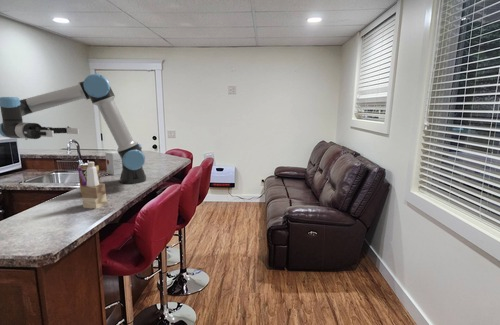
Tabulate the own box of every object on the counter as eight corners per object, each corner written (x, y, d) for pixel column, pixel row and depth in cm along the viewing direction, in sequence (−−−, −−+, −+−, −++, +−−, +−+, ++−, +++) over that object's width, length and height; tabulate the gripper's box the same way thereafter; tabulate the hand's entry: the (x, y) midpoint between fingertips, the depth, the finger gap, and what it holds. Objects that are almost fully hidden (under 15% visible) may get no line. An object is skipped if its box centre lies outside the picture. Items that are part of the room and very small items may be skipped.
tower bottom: (94, 202, 140) (93, 192, 139) (107, 204, 138) (106, 194, 137) (83, 207, 133) (82, 197, 132) (96, 209, 131) (95, 198, 130)
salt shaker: (101, 183, 136) (99, 161, 134) (96, 186, 131) (93, 163, 129) (90, 183, 136) (87, 160, 134) (83, 186, 131) (81, 163, 129)
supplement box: (106, 173, 197) (104, 152, 194) (118, 171, 204) (117, 150, 201) (113, 175, 192) (112, 153, 189) (126, 173, 199) (124, 151, 196)
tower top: (91, 193, 138) (90, 183, 137) (105, 193, 138) (104, 183, 137) (82, 197, 131) (81, 187, 130) (97, 198, 131) (95, 187, 130)
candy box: (101, 193, 154) (99, 165, 151) (97, 195, 150) (94, 167, 147) (85, 192, 154) (82, 165, 151) (80, 195, 150) (77, 166, 147)
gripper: (54, 136, 149) (88, 137, 144) (3, 141, 125) (42, 144, 120) (52, 121, 148) (87, 122, 143) (0, 124, 124) (39, 126, 119)
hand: (66, 132), depth 131 cm, fingers open, 13 cm apart
